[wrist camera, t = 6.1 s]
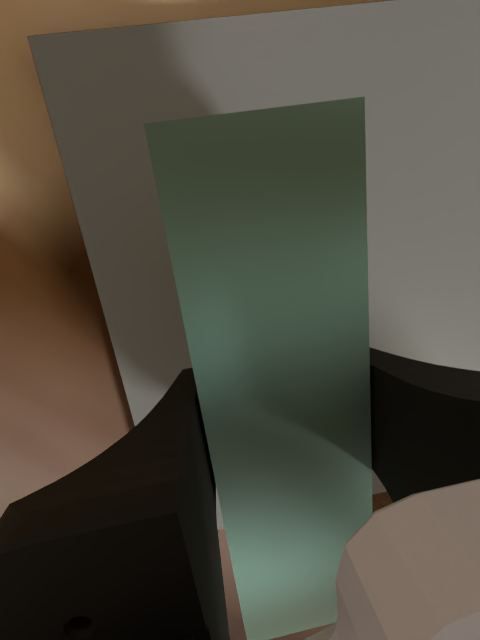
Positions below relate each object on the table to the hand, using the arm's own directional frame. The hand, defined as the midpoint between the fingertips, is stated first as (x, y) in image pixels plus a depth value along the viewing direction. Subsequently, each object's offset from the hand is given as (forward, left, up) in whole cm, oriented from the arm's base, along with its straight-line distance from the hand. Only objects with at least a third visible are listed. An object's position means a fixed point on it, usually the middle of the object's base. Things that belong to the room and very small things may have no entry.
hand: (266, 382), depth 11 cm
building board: (0, -7, -7) cm, 10 cm away
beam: (0, 0, -1) cm, 1 cm away
